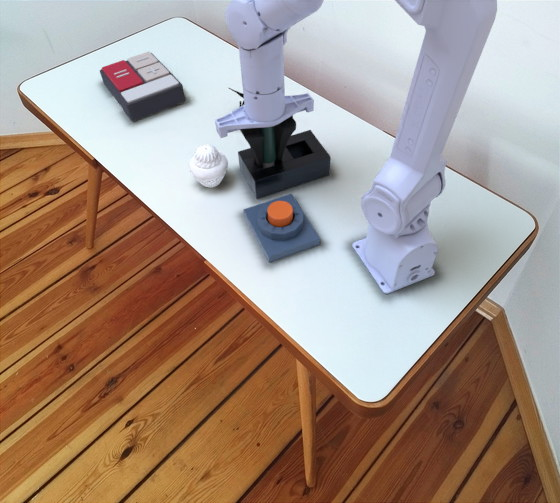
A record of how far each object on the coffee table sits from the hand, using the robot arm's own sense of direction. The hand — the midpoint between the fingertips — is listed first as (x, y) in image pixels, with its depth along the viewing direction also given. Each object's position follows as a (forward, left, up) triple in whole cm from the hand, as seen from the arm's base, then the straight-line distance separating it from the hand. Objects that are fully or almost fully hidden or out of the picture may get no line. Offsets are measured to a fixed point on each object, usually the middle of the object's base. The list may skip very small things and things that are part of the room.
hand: (268, 158), depth 80 cm
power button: (-11, +3, -1) cm, 11 cm away
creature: (+16, -3, -4) cm, 17 cm away
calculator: (+32, +13, -4) cm, 35 cm away
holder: (0, -3, -4) cm, 5 cm away
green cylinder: (0, 0, -3) cm, 3 cm away
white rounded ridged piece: (+3, +9, -4) cm, 10 cm away
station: (-11, +3, -4) cm, 12 cm away
